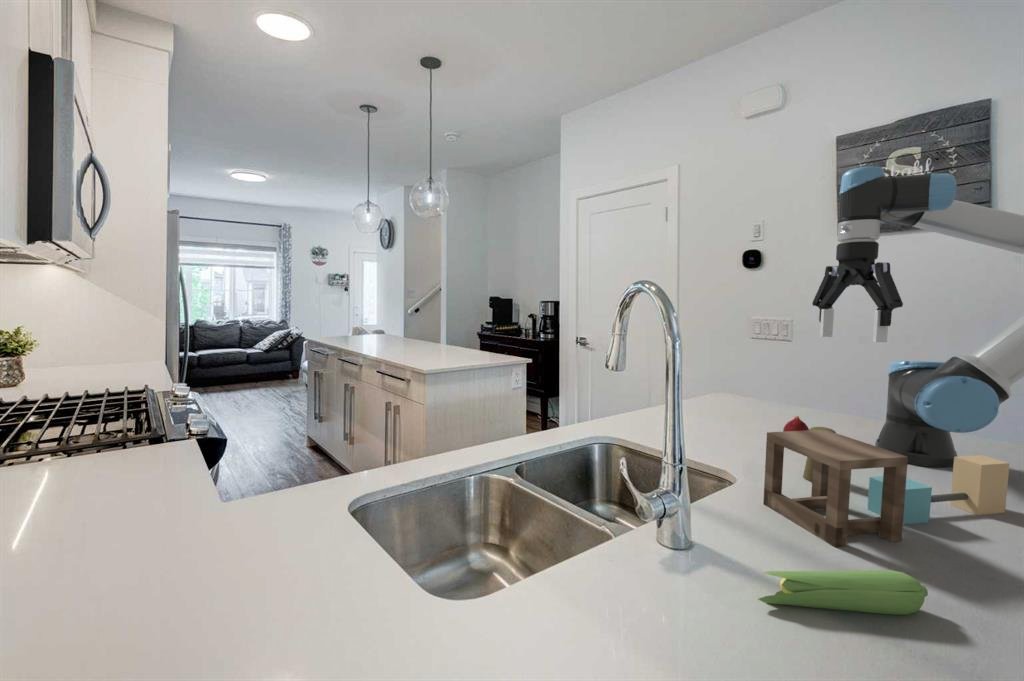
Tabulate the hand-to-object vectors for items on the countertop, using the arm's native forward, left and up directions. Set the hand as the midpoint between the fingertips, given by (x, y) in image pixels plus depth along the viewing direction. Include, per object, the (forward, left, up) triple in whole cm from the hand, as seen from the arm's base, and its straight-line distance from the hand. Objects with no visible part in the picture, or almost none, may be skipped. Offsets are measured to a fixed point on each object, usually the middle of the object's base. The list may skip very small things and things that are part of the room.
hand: (851, 339), depth 109 cm
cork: (+12, +7, -29) cm, 32 cm away
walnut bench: (+26, +24, -29) cm, 45 cm away
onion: (0, -14, -29) cm, 32 cm away
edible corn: (+43, +44, -29) cm, 68 cm away
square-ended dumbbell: (+4, +24, -29) cm, 37 cm away
